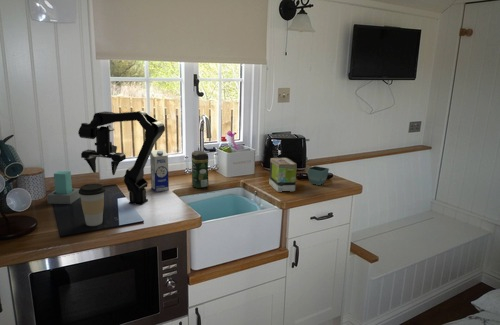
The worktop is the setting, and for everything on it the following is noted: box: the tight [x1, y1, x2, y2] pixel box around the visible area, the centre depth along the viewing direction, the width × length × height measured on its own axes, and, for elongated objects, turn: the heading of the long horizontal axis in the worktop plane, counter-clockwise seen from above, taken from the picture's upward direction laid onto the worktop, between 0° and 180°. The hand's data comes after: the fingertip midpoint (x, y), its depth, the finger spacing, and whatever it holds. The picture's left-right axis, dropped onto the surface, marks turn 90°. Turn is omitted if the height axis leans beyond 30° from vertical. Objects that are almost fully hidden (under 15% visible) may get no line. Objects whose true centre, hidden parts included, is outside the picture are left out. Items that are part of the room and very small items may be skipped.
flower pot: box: [307, 165, 330, 186], centre depth 204 cm, size 9×9×9 cm
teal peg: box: [53, 170, 73, 194], centre depth 168 cm, size 5×5×13 cm
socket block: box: [46, 187, 81, 205], centre depth 169 cm, size 10×10×4 cm
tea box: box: [268, 157, 298, 193], centre depth 196 cm, size 15×10×15 cm
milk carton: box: [149, 148, 170, 193], centre depth 186 cm, size 7×7×20 cm
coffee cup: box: [79, 183, 106, 227], centre depth 144 cm, size 9×9×15 cm
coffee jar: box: [191, 149, 209, 189], centre depth 194 cm, size 10×8×19 cm
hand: (104, 173), depth 170 cm, fingers open, 9 cm apart
